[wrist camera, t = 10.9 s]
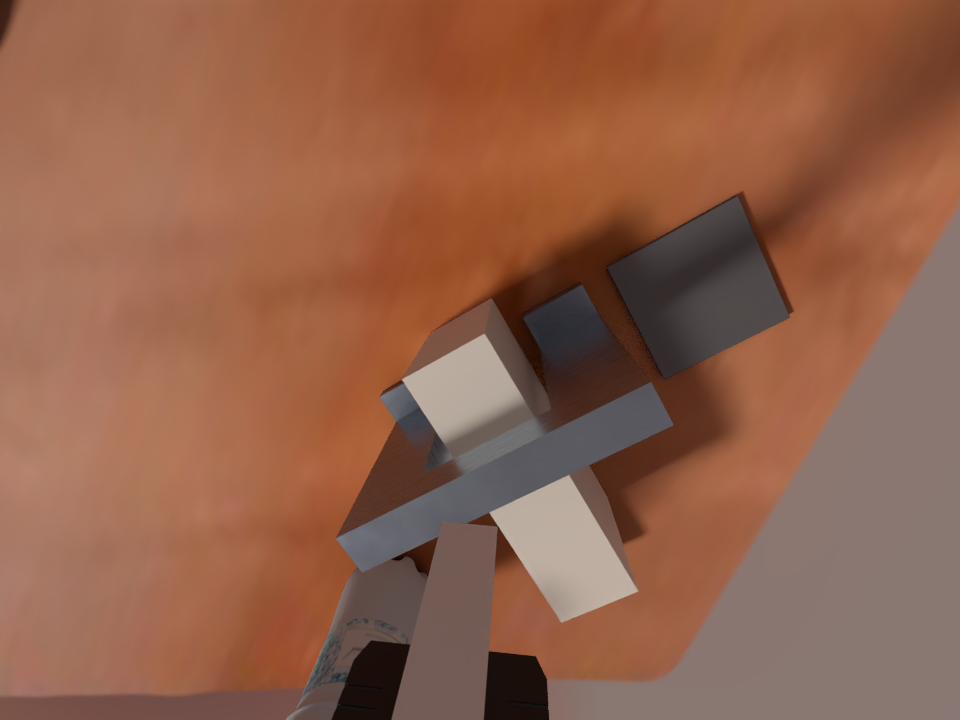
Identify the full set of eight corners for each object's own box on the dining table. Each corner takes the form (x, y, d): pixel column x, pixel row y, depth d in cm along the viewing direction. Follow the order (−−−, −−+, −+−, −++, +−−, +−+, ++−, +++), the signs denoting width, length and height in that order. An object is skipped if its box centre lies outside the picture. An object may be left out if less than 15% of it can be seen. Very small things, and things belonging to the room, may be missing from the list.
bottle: (454, 569, 37) (395, 950, 18) (411, 628, 39) (317, 1030, 20) (375, 526, 37) (227, 877, 18) (334, 589, 39) (162, 966, 20)
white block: (430, 332, 32) (401, 379, 24) (491, 297, 31) (484, 333, 23) (575, 563, 37) (595, 673, 28) (632, 539, 36) (670, 644, 27)
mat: (606, 267, 30) (607, 268, 30) (734, 195, 29) (737, 195, 28) (662, 377, 32) (664, 379, 32) (786, 315, 30) (790, 317, 30)
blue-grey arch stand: (383, 391, 33) (308, 502, 21) (580, 282, 31) (627, 336, 18) (431, 462, 35) (387, 605, 22) (623, 364, 32) (695, 466, 20)
